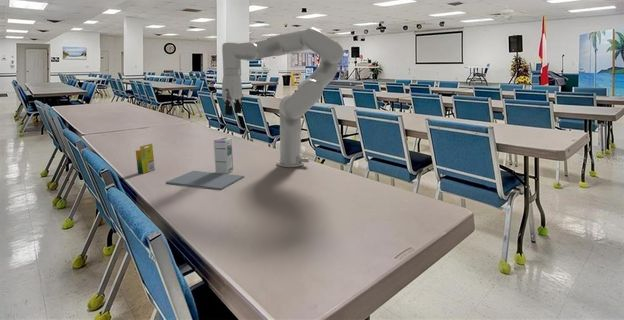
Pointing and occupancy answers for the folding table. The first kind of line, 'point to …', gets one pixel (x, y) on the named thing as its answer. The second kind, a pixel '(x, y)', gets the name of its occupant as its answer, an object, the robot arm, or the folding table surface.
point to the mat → (205, 180)
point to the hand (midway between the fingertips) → (233, 113)
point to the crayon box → (145, 159)
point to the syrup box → (223, 155)
